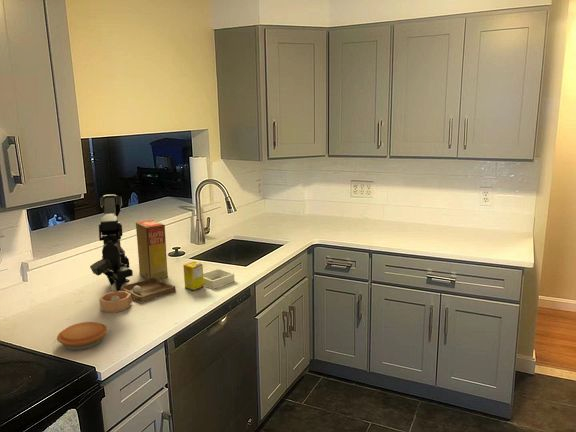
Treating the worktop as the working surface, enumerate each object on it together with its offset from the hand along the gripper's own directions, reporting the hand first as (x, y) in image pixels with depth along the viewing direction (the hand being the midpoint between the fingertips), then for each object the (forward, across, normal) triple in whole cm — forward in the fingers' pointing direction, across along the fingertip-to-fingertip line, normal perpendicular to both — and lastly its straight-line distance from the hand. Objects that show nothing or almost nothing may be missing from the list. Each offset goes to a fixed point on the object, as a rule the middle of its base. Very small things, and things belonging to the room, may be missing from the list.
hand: (116, 289), depth 187 cm
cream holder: (+7, +9, +42) cm, 44 cm away
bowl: (+7, +1, -1) cm, 7 cm away
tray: (+7, -3, +15) cm, 17 cm away
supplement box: (+7, +8, +31) cm, 33 cm away
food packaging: (+7, -20, +28) cm, 36 cm away
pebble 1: (-1, 0, 0) cm, 1 cm away
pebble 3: (+4, -3, +11) cm, 12 cm away
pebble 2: (+4, +1, -1) cm, 4 cm away
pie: (+7, +21, -23) cm, 31 cm away
